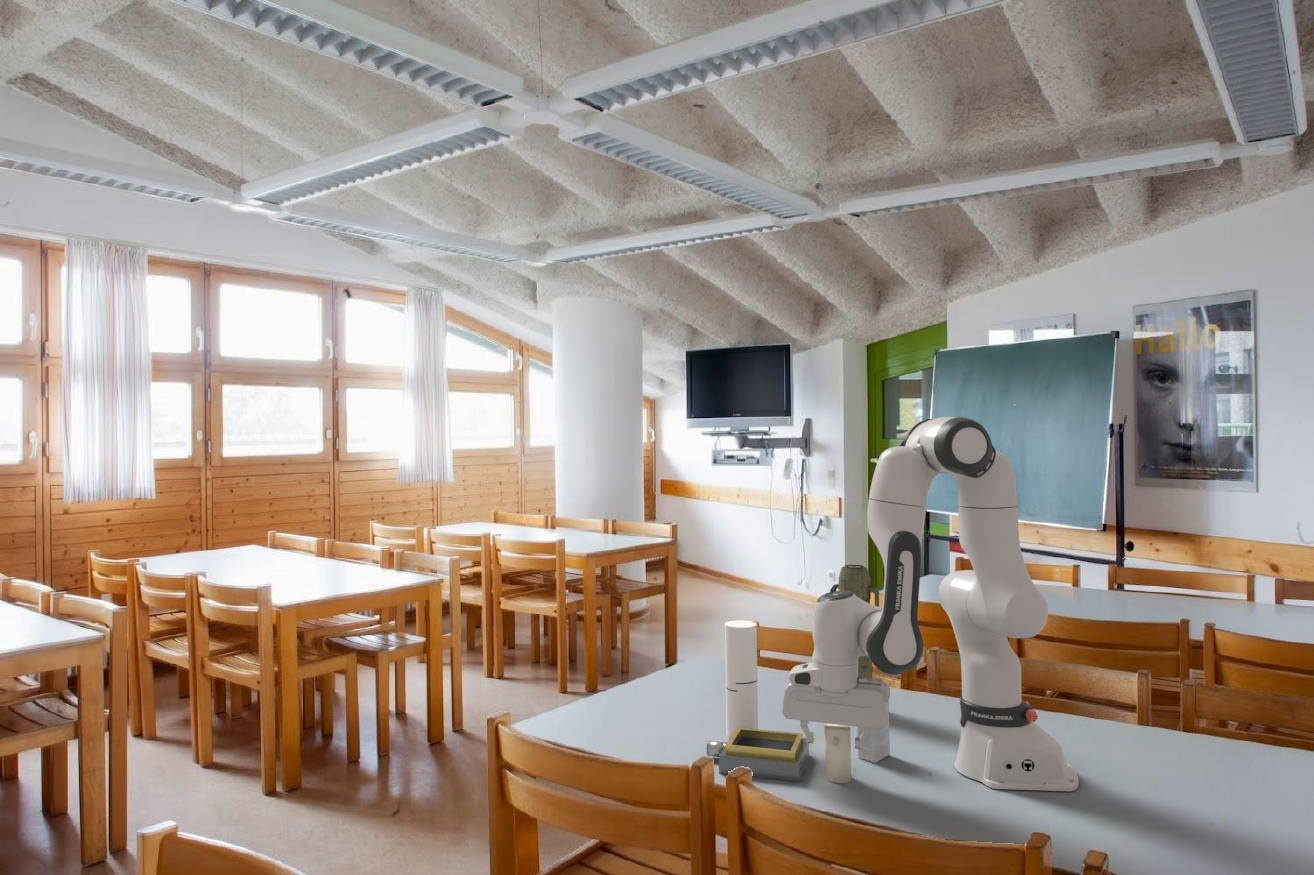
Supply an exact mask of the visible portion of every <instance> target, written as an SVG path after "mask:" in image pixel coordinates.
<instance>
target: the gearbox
mask: <svg viewBox="0 0 1314 875" xmlns="http://www.w3.org/2000/svg"><path fill="white" fill-rule="evenodd" d="M705 750H706V756H707V757H713V758H715V757H716V758H718V773H719V774H723V773H724V774H725V775H728V774H727V773H728V771H731V770H733V769H734V768H736V767H740V766H744V767H749V768H750V769H751V770H752V772H753V777H752V778H760V779H767V778H772V779H771V780H776V779H778V780H779V781H787V782H796V783H800V781H801V778H802V776H803V773H804V770H805V767H806V765H807V762H808V759H809V757H810V743H806V737H805V738H804V734H803V733H802V732H801V733H798V732H787V731H779V730H777V731H776V730H769V729H768V730H767V729H759V728H758V729H749V728H738V727H737V728H736V730H735V732H734V733H733V734H732V736H731V737H730V738H729V739H728V740H727V742H725V741H717V740H716V741H713V740H707V743H706V748H705ZM808 756H809V757H808Z"/></svg>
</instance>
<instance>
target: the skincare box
mask: <svg viewBox="0 0 1314 875" xmlns="http://www.w3.org/2000/svg"><path fill="white" fill-rule="evenodd" d="M889 701H890V699H889V700H888V702H886V703H887V711H888V724H887V726H886V727H885V728H884V729H875V728H869V732H868V735H867V736H866V738H865V739H864V741H863V750H862V749H857V757H858V759H862V760H864V761H868V762H871V763H877V762H880V761H881V760H882V759H884V758H886V757H888V756H890V754H891V749H890V748H891V747H890V746H891V744H890V742H891V741H890V740H891V739H890V737H891V736H890V708H889V707H890V702H889ZM856 727H857V726H856ZM862 733H863V732H861V727H857V737H858V738H860V736H861V735H862Z"/></svg>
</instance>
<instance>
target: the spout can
mask: <svg viewBox="0 0 1314 875" xmlns="http://www.w3.org/2000/svg"><path fill="white" fill-rule="evenodd" d="M823 727H824V730H823V731H824V734H823V736H824V779H825V778H826V779H827V780H826V779H825V780H826V781H828V780H829V781H828V782H830V781H831V782H830V783H833V782H834V783H833V784H846V783H849V782H851V781H850V780H852V758H851V756H852V753H851V752H852V751H851V750H852V749H851V748H852V746H851V745H852V744H851V742H852V740H851V739H852V738H851V726H848V725H838V724H829V723H825V724H824V726H823Z"/></svg>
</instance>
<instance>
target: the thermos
mask: <svg viewBox="0 0 1314 875" xmlns="http://www.w3.org/2000/svg"><path fill="white" fill-rule="evenodd" d="M871 581H872V580H871V576H870V572H869V570H868V568H867V567H865V566H864V565H861V564H846V565H844V566H842V567H841V568H840V572H839V575H838V583H837V584H833V585H832V586H831V588H830V589H829V592H834V591H837V590H838V591H849V592H852V593H854V594H855V595H856V596H857V597H859V598H860V599H862V600H864V601H865V602H867V603H869V604H871V598H872V594H871V592H872V593H873V594H874V606H877V607H880V592H879V590H878V588H877V587H876V586H873V585H871V584H872V583H871ZM858 677H863V678H869V679H874V678H873V662H872V661H871V659H870V658H869V657H868V656H860V657H859V658H858ZM858 683H859V682H858Z"/></svg>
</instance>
